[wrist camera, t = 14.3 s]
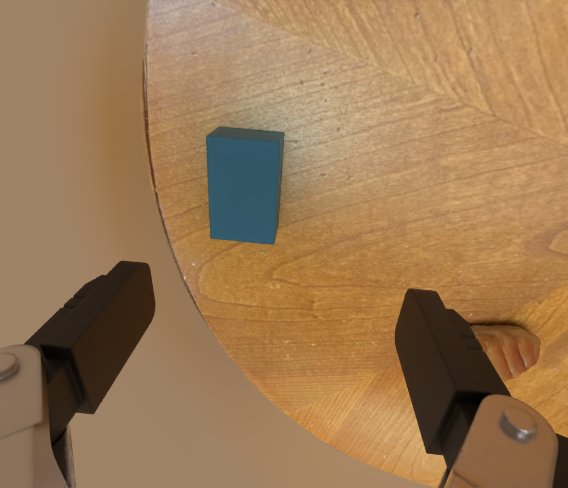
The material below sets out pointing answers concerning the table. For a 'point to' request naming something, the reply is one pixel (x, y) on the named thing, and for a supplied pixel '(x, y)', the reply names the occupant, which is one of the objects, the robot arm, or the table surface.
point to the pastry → (508, 348)
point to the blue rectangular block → (244, 184)
